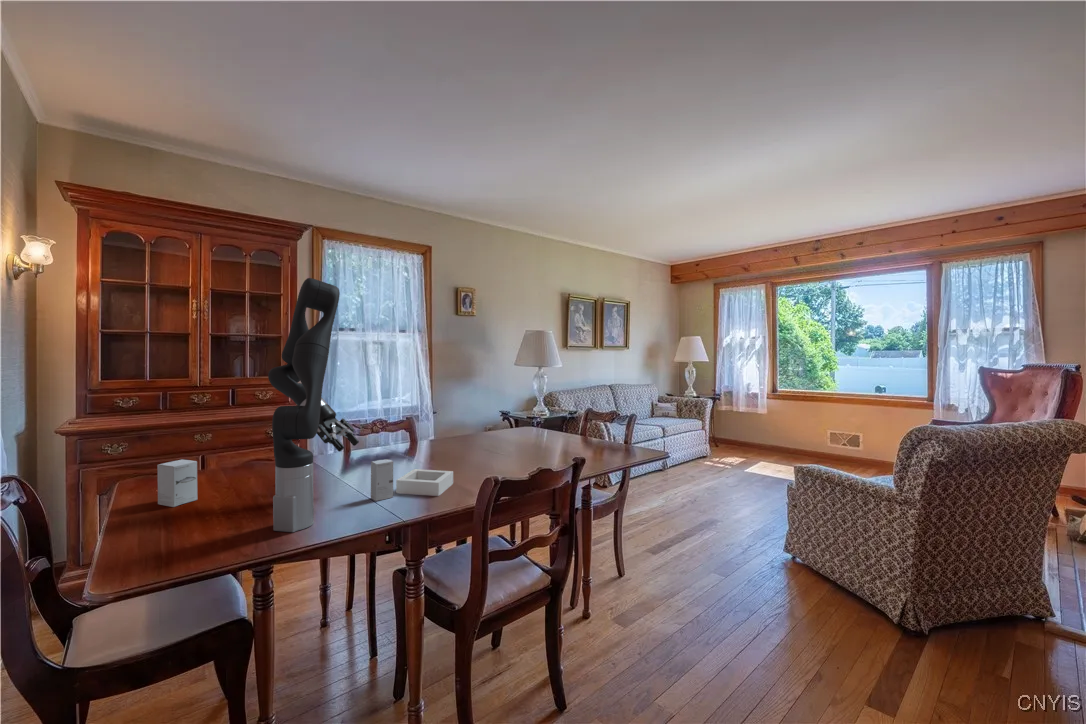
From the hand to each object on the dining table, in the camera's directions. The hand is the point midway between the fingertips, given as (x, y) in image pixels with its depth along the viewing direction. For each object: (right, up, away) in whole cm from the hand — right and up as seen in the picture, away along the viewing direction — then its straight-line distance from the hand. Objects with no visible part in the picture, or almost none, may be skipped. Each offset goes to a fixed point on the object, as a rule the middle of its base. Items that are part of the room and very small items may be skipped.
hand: (349, 446), depth 154 cm
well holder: (+23, -16, +9) cm, 29 cm away
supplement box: (-51, -16, -8) cm, 54 cm away
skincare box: (+11, -17, -1) cm, 20 cm away
